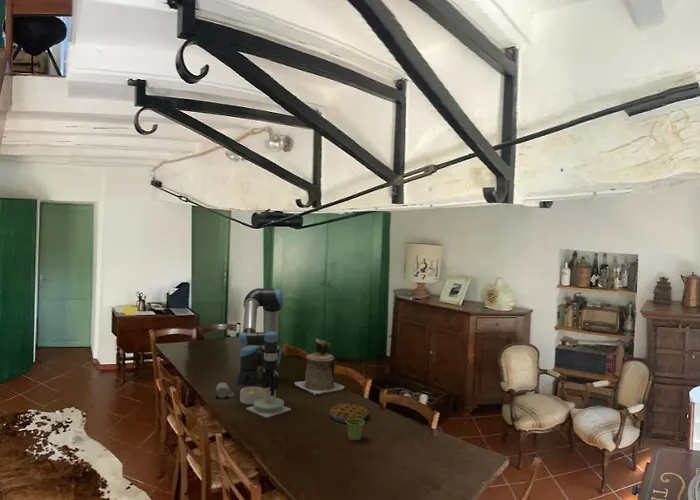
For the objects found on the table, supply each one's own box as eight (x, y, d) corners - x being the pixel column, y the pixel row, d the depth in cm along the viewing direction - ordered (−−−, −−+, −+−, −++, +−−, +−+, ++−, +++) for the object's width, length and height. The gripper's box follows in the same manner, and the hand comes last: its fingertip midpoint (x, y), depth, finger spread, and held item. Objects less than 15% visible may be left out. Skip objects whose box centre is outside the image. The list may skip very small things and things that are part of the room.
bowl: (254, 394, 335) (254, 385, 335) (268, 400, 326) (268, 390, 326) (235, 399, 325) (236, 390, 324) (250, 405, 316) (250, 395, 315)
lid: (270, 397, 322) (271, 382, 322) (290, 404, 311) (290, 388, 310) (247, 403, 309) (248, 387, 309) (266, 411, 298) (267, 395, 298)
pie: (373, 413, 311) (373, 405, 311) (361, 427, 291) (361, 417, 290) (337, 408, 318) (337, 399, 318) (323, 420, 298) (323, 411, 297)
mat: (270, 402, 323) (270, 400, 323) (291, 410, 311) (291, 408, 311) (246, 409, 310) (246, 407, 310) (266, 417, 298) (266, 416, 298)
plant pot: (352, 433, 281) (352, 416, 281) (367, 437, 276) (368, 421, 276) (341, 438, 274) (342, 421, 273) (357, 443, 268) (357, 426, 268)
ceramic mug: (215, 399, 325) (216, 386, 324) (215, 394, 333) (216, 382, 332) (233, 398, 327) (234, 386, 327) (233, 394, 335) (234, 382, 335)
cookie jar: (315, 396, 338) (317, 345, 336) (292, 386, 356) (294, 337, 354) (345, 389, 354) (347, 340, 352) (322, 379, 373) (324, 333, 371)
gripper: (256, 357, 311) (254, 398, 313) (274, 363, 301) (273, 405, 302) (266, 355, 317) (265, 395, 318) (284, 361, 306) (283, 402, 307)
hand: (269, 400), depth 310 cm, fingers closed on lid, 3 cm apart
